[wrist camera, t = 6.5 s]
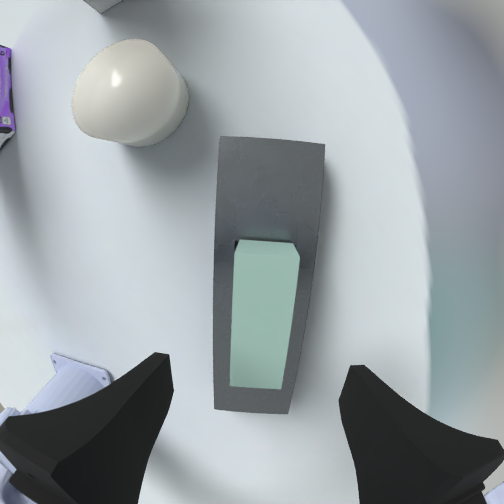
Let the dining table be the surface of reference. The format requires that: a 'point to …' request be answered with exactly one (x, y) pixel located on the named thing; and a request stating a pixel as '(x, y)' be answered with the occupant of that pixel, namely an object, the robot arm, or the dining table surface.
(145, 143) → the white dome cap
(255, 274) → the green toy bench
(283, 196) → the rail
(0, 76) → the candy box
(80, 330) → the dining table surface
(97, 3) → the coffee box
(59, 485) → the robot arm
